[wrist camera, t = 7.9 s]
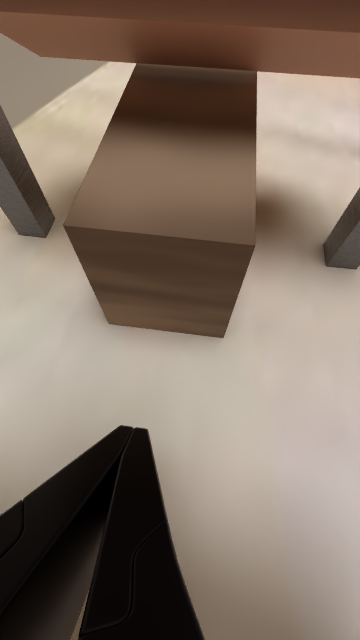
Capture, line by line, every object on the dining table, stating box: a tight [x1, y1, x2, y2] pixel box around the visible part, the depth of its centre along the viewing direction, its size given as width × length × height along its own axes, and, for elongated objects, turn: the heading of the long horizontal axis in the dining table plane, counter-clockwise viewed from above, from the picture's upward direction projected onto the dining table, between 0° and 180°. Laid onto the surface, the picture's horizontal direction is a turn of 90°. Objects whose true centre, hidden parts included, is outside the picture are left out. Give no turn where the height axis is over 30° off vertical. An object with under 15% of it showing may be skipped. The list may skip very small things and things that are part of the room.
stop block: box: [63, 63, 257, 338], centre depth 17 cm, size 14×7×8 cm, turn 172°
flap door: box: [0, 0, 360, 78], centre depth 13 cm, size 1×18×6 cm
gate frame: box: [0, 106, 360, 269], centre depth 14 cm, size 2×24×14 cm, turn 83°
